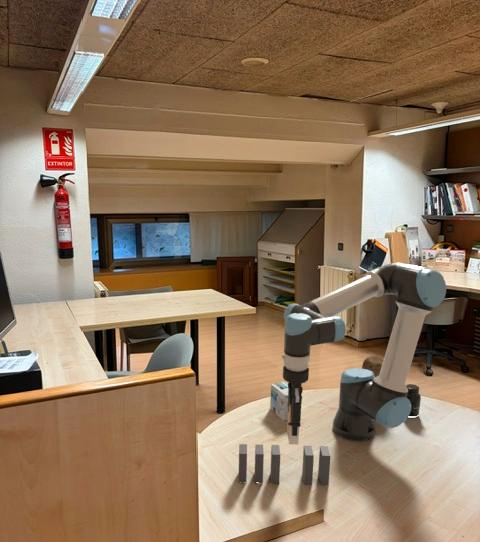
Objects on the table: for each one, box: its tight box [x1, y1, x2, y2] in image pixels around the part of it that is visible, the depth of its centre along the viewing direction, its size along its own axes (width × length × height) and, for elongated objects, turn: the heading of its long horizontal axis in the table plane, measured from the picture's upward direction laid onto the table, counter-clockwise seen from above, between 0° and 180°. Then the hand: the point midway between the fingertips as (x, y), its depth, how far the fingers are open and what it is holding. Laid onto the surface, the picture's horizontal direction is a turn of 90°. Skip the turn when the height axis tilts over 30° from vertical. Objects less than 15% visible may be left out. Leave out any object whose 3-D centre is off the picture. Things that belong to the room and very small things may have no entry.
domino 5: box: [301, 445, 315, 486], centre depth 140 cm, size 2×5×10 cm, turn 179°
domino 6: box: [317, 445, 331, 486], centre depth 140 cm, size 2×5×10 cm, turn 179°
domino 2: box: [254, 443, 265, 484], centre depth 140 cm, size 2×5×10 cm, turn 179°
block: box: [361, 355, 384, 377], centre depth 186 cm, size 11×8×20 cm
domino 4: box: [287, 405, 291, 440], centre depth 137 cm, size 2×5×10 cm, turn 179°
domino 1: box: [238, 443, 248, 483], centre depth 140 cm, size 2×5×10 cm, turn 179°
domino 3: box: [270, 444, 281, 485], centre depth 140 cm, size 2×5×10 cm, turn 179°
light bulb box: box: [269, 381, 289, 422], centre depth 179 cm, size 11×7×11 cm, turn 27°
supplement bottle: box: [405, 383, 422, 416], centre depth 179 cm, size 7×7×12 cm
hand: (292, 438), depth 138 cm, fingers closed on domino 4, 5 cm apart
